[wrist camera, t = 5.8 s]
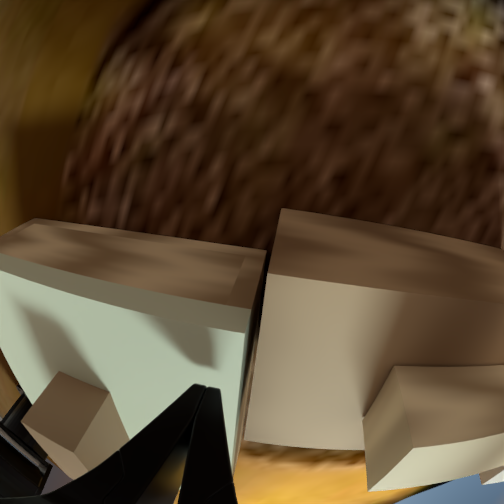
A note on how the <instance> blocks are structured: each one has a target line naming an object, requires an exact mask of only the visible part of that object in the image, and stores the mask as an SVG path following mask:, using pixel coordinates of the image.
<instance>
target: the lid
mask: <svg viewBox="0 0 504 504" xmlns="http://www.w3.org/2000/svg"><path fill="white" fill-rule="evenodd" d="M250 316H251V309H246V308H240V307H234V306H228V305H222V304H217V303H211V302H205V301H200V300H195V299H189V298H184V297H179V296H174V295H169V294H164V293H159V292H154V291H149V290H144V289H140V288H135V287H130V286H126V285H121V284H117V283H113V282H108V281H104V280H100V279H95V278H91V277H87V276H83V275H79V274H75V273H71V272H67V271H63V270H59V269H55V268H52V267H48V266H44V265H40V264H37V263H33V262H30V261H26V260H22V259H19V258H15V257H12V256H9V255H5V254H2V253H0V348H1V350H2V352H3V354H4V356H5V358H6V360H7V362H8V364H9V366H10V367H11V369H12V371H13V373H14V375H15V377H16V378H17V380H18V382H19V384H20V385H21V387H22V389H23V390H24V392H25V394H26V395H27V397H28V399H29V400H30V402H31V403H32V406H31V408H30V409H29V411H28V412H27V413H26V415H25V416H24V417H23V419H22V420H21V422H22V424H23V425H24V426H25V428H26V429H27V430H28V431H29V433H30V434H31V435H32V436H33V438H34V439H35V440H36V441H37V442H38V444H39V445H40V446H41V447H42V448H43V450H44V451H45V452H46V453H47V454H48V455H49V456H50V457H51V459H52V460H53V461H54V462H55V463H56V464H57V465H58V466H59V467H60V468H61V469H62V470H63V471H64V472H65V473H66V474H67V475H68V476H69V477H70V478H72V479H74V480H75V479H77V478H78V477H80V476H82V475H83V474H85V473H87V472H88V471H90V470H92V469H93V468H95V467H96V466H98V465H99V464H100V463H102V462H103V461H104V460H106V459H107V458H108V457H110V456H111V455H112V454H113V453H114V452H116V451H117V450H119V449H120V448H121V447H122V446H123V445H124V444H125V443H127V442H128V441H129V440H130V439H131V438H133V437H134V436H135V435H136V434H137V433H138V432H140V431H141V430H142V429H143V428H144V427H145V426H147V425H148V424H149V423H150V422H151V421H152V420H153V419H155V418H156V417H157V416H158V415H159V414H160V413H161V412H163V411H164V410H165V409H166V408H167V407H168V406H169V405H170V404H172V403H173V402H174V401H175V400H176V399H177V398H178V397H179V396H180V395H182V394H183V393H184V392H185V391H186V390H187V389H188V388H189V387H190V386H191V385H193V384H195V383H197V384H201V385H205V386H207V387H209V386H210V387H215V388H219V389H220V390H221V396H222V404H223V412H224V420H225V427H226V435H227V442H228V449H229V455H230V462H231V469H232V474H233V466H234V457H235V449H236V440H237V431H238V423H239V414H240V405H241V397H242V388H243V379H244V370H245V361H246V352H247V344H248V335H249V326H250ZM180 488H181V486H180ZM179 490H180V489H179Z"/></svg>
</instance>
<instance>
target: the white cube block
mask: <svg viewBox="0 0 504 504" xmlns="http://www.w3.org/2000/svg"><path fill="white" fill-rule="evenodd" d="M479 475H480V479H481V483H482V485H483V484H491V483H496V482H502V481H504V465H503V466H500V467H497V468H494V469H491V470H488V471H485V472H481V473H479Z"/></svg>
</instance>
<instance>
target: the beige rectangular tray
mask: <svg viewBox="0 0 504 504" xmlns="http://www.w3.org/2000/svg"><path fill="white" fill-rule="evenodd" d="M266 252H267V250H260V249H253V248H246V247H239V246H232V245H225V244H218V243H211V242H204V241H197V240H190V239H183V238H176V237H169V236H162V235H155V234H148V233H141V232H133V231H126V230H119V229H112V228H105V227H98V226H90V225H83V224H76V223H69V222H61V221H54V220H47V219H40V218H34V219H32V220H30V221H28V222H26V223H24V224H22V225H20V226H18V227H17V228H15V229H13V230H11V231H9V232H8V233H6V234H4V235H2V236H1V237H0V253H2V254H5V255H9V256H12V257H15V258H19V259H22V260H26V261H30V262H33V263H37V264H40V265H44V266H48V267H52V268H55V269H59V270H63V271H67V272H71V273H75V274H79V275H83V276H87V277H91V278H95V279H100V280H104V281H108V282H113V283H117V284H121V285H126V286H130V287H135V288H140V289H144V290H149V291H154V292H159V293H164V294H169V295H174V296H179V297H184V298H189V299H195V300H200V301H205V302H211V303H217V304H222V305H228V306H234V307H240V308H246V309H251V316H250V326H249V335H248V344H247V352H246V361H245V370H244V379H243V388H242V397H241V405H240V414H239V423H238V431H237V440H236V449H235V457H234V466H233V474H232V475H233V476H234V472H235V467H236V463H237V458H238V454H239V449H240V445H241V440H242V434H243V427H244V420H245V413H246V406H247V399H248V391H249V384H250V377H251V369H252V362H253V354H254V347H255V339H256V332H257V324H258V316H259V309H260V301H261V293H262V285H263V277H264V269H265V260H266ZM494 365H504V251H503V250H502V249H499V248H495V247H491V246H487V245H482V244H478V243H474V242H469V241H465V240H460V239H456V238H451V237H446V236H441V235H437V234H432V233H427V232H422V231H417V230H411V229H406V228H401V227H396V226H390V225H385V224H379V223H374V222H368V221H362V220H356V219H350V218H344V217H338V216H332V215H325V214H319V213H312V212H306V211H299V210H292V209H285V208H281V213H280V217H279V222H278V227H277V232H276V236H275V241H274V246H273V250H272V255H271V259H270V264H269V269H268V273H267V281H266V289H265V296H264V304H263V311H262V318H261V326H260V333H259V340H258V347H257V354H256V361H255V368H254V375H253V382H252V389H251V395H250V402H249V409H248V415H247V422H246V428H245V435H244V440H248V441H254V442H260V443H267V444H275V445H284V446H293V447H304V448H318V449H339V450H365V445H364V434H363V424H362V420H363V419H364V417H365V416H366V414H367V412H368V411H369V409H370V407H371V406H372V404H373V402H374V401H375V399H376V397H377V396H378V394H379V392H380V390H381V389H382V387H383V385H384V383H385V381H386V380H387V378H388V376H389V374H390V372H391V370H392V368H393V366H419V367H468V366H494Z"/></svg>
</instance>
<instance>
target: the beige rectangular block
mask: <svg viewBox="0 0 504 504" xmlns="http://www.w3.org/2000/svg"><path fill="white" fill-rule="evenodd" d="M362 424H363V434H364V445H365V457H366V471H367V489H368V491H382V490H393V489H402V488H410V487H417V486H423V485H429V484H435V483H440V482H445V481H449V480H454V479H458V478H462V477H466V476H470V475H474V474H478V473H481V472H485V471H488V470H491V469H494V468H497V467H500V466H503V465H504V365H494V366H468V367H419V366H393V368H392V370H391V372H390V374H389V376H388V378H387V380H386V381H385V383H384V385H383V387H382V389H381V390H380V392H379V394H378V396H377V397H376V399H375V401H374V402H373V404H372V406H371V407H370V409H369V411H368V412H367V414H366V416H365V417H364V419H363V420H362Z"/></svg>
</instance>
